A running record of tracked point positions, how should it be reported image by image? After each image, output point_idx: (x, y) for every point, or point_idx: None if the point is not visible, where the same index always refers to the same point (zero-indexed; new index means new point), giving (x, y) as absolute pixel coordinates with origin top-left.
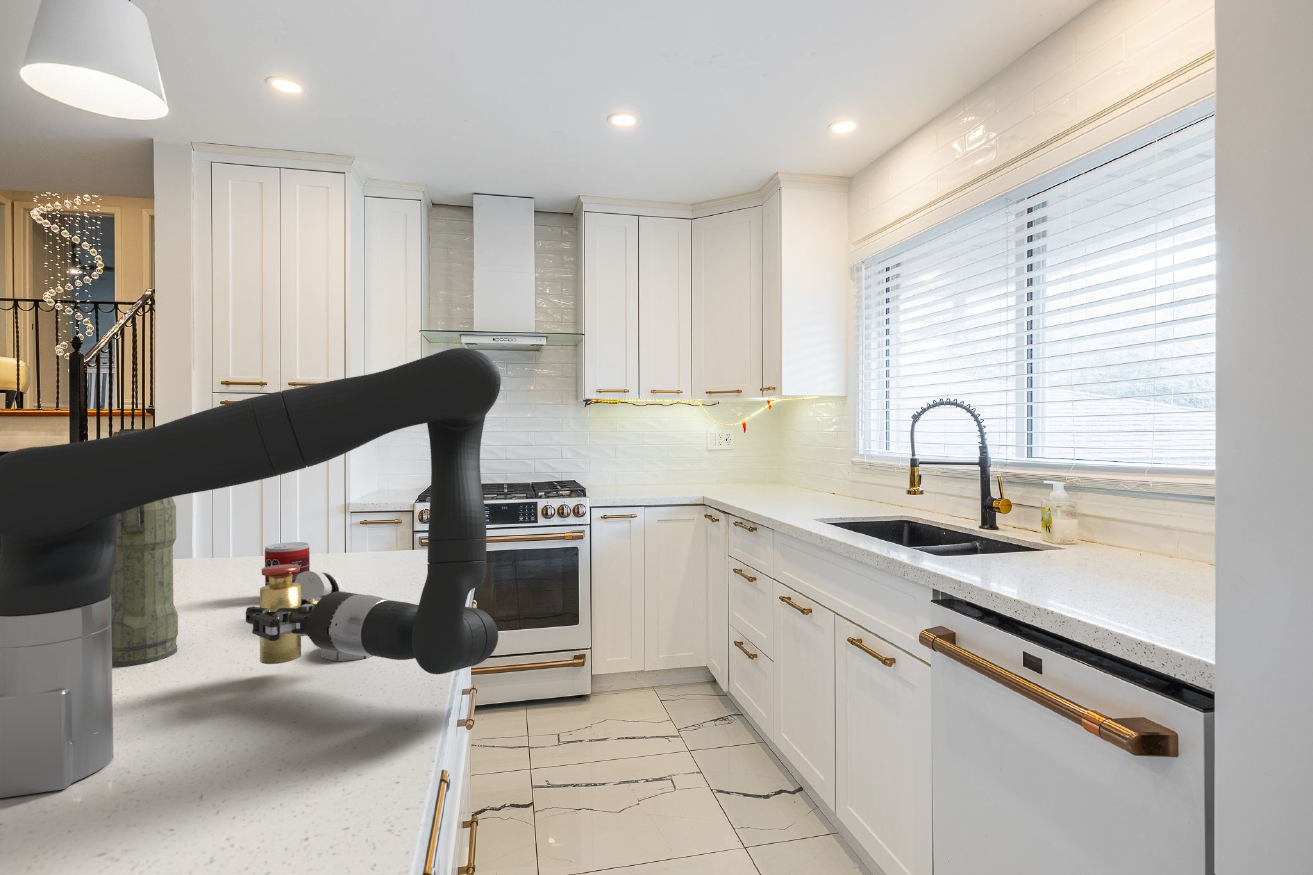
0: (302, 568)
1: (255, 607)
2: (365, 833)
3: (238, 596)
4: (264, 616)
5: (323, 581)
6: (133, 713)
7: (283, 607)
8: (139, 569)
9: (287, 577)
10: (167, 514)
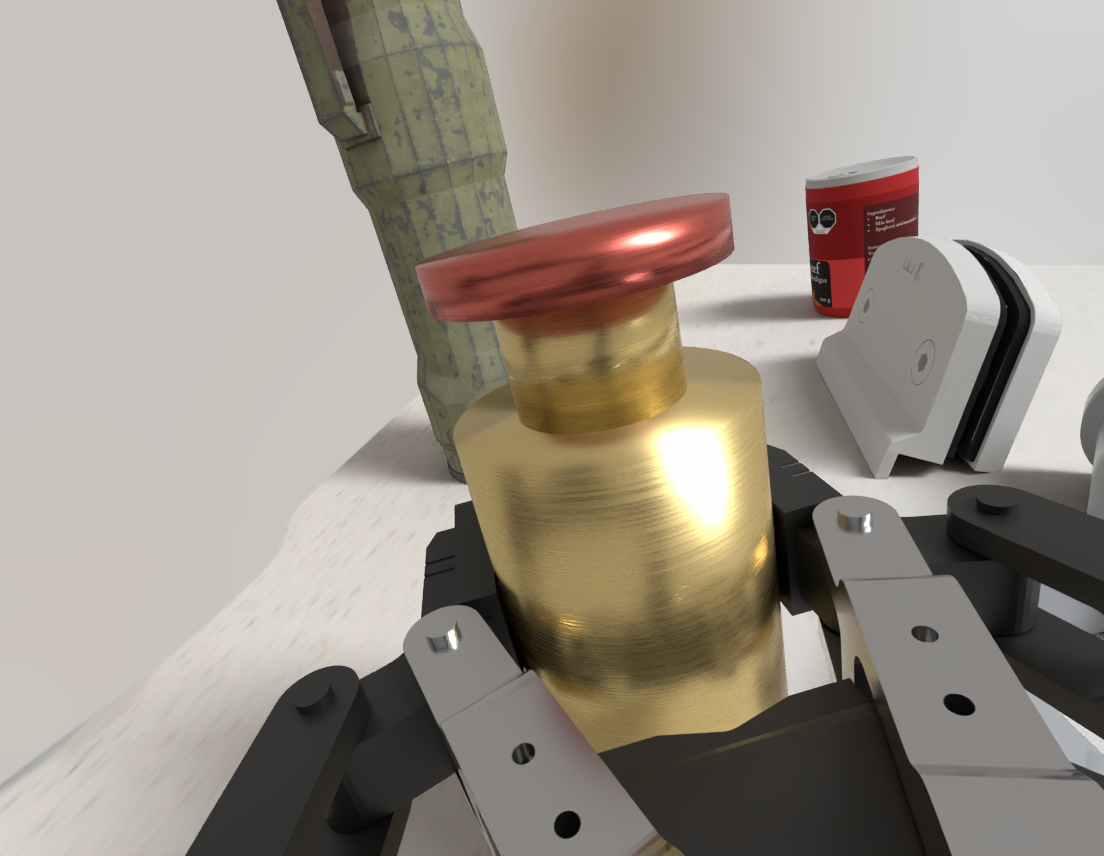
0: (897, 228)
1: (472, 524)
2: None
3: (769, 293)
4: (243, 842)
5: (963, 279)
6: (204, 809)
7: (472, 736)
8: (412, 253)
9: (601, 333)
10: (430, 68)
